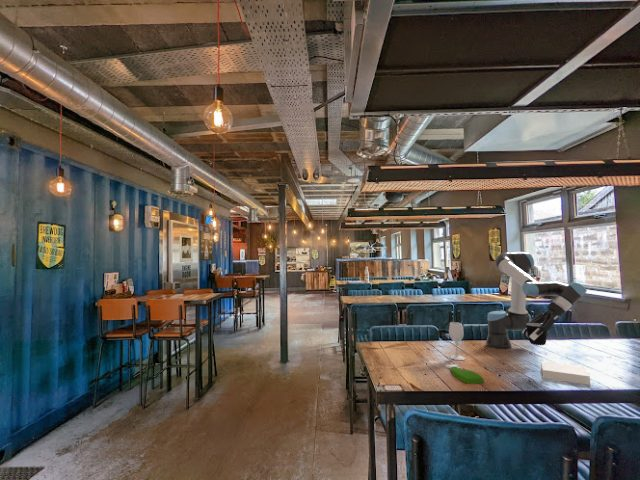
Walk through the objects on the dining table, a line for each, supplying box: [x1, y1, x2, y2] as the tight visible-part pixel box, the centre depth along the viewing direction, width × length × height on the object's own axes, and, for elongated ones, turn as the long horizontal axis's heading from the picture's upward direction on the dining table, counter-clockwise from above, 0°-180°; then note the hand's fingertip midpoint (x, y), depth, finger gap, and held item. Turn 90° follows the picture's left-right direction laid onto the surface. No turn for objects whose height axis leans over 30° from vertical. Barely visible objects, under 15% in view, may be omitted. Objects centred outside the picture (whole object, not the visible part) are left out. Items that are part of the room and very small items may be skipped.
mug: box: [523, 323, 548, 346], centre depth 168 cm, size 12×9×10 cm
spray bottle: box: [445, 364, 485, 385], centre depth 164 cm, size 3×11×24 cm
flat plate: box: [540, 360, 591, 386], centre depth 159 cm, size 18×16×4 cm
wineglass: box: [448, 321, 466, 361], centre depth 192 cm, size 9×9×21 cm
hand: (527, 336), depth 169 cm, fingers closed on mug, 9 cm apart
